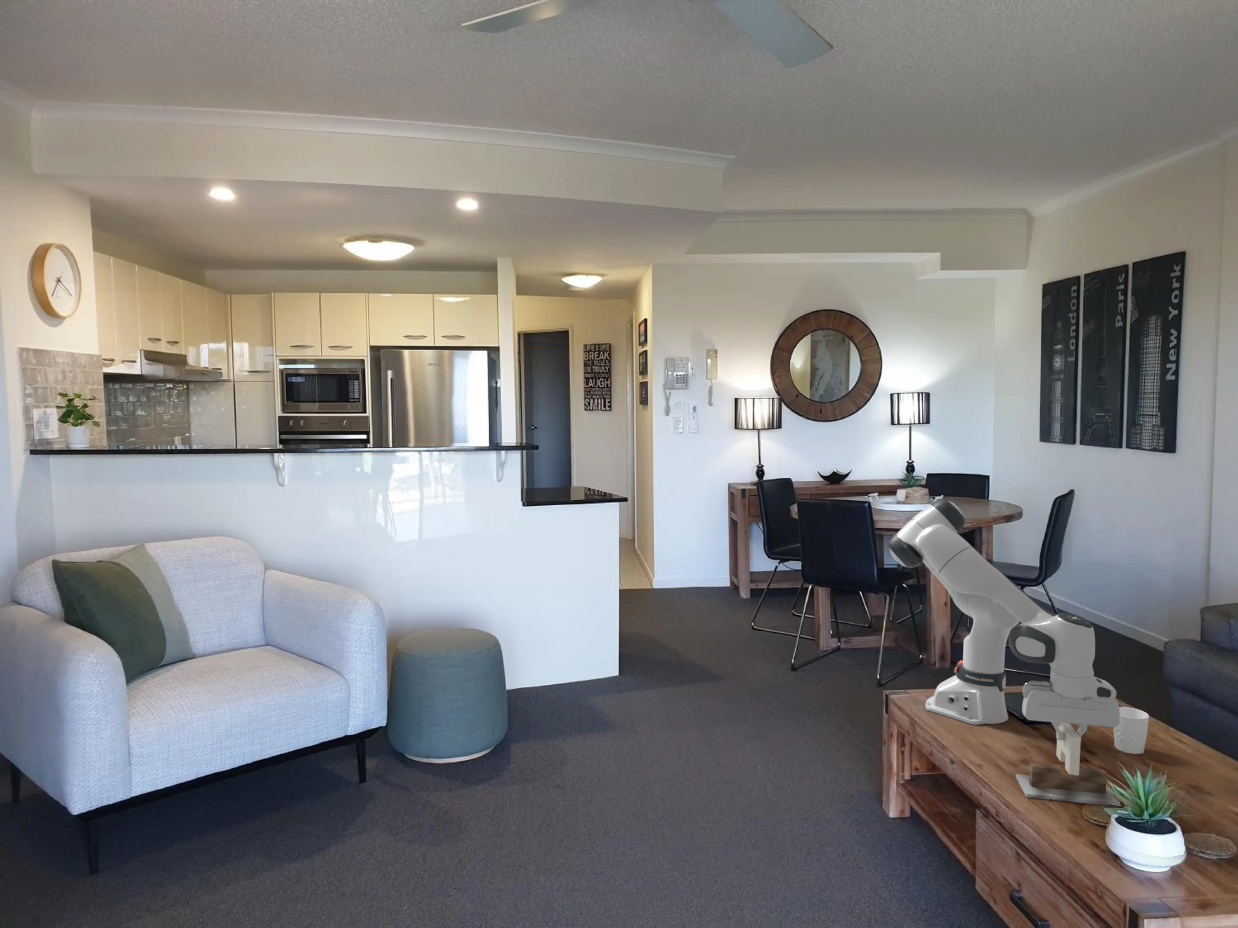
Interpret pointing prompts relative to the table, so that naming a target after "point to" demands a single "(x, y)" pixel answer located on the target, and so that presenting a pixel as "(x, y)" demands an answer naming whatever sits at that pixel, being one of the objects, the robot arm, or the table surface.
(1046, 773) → the base plate
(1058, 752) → the upright cream slab
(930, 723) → the table surface
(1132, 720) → the white cup
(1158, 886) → the table surface
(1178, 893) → the table surface
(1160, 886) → the table surface
